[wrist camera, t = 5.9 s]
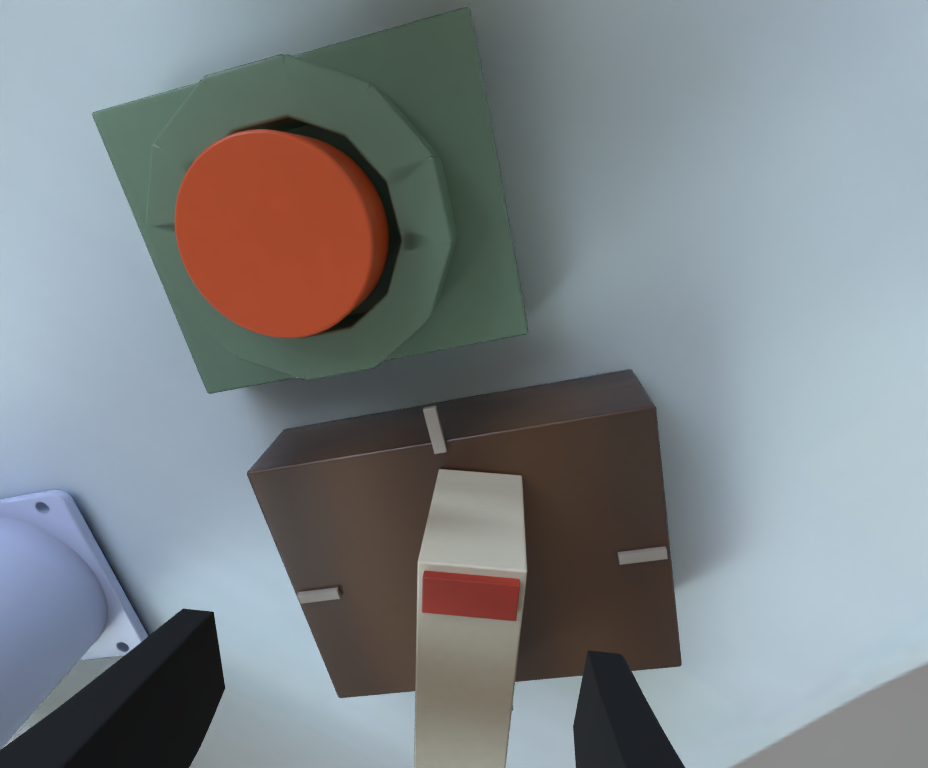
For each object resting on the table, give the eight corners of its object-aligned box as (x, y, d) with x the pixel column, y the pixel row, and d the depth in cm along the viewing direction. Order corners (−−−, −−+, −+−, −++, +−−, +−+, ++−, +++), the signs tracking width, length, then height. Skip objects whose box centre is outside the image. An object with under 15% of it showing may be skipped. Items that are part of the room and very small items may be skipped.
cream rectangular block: (503, 667, 18) (502, 805, 14) (432, 660, 18) (412, 795, 14) (522, 474, 15) (527, 579, 11) (438, 468, 15) (415, 569, 11)
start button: (251, 334, 14) (218, 355, 13) (186, 159, 13) (139, 157, 11) (409, 302, 14) (396, 319, 12) (360, 113, 12) (338, 104, 10)
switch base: (366, 652, 22) (345, 725, 19) (273, 400, 18) (228, 443, 15) (660, 621, 21) (686, 696, 18) (628, 335, 17) (654, 369, 14)
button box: (234, 374, 18) (175, 418, 15) (134, 119, 15) (35, 104, 12) (526, 318, 17) (531, 352, 13) (473, 25, 14) (463, -21, 11)
